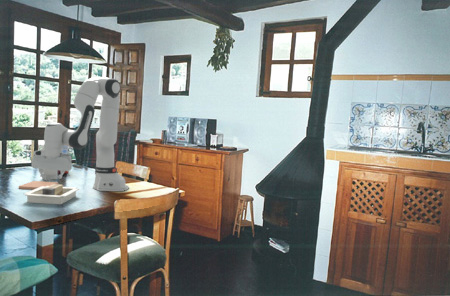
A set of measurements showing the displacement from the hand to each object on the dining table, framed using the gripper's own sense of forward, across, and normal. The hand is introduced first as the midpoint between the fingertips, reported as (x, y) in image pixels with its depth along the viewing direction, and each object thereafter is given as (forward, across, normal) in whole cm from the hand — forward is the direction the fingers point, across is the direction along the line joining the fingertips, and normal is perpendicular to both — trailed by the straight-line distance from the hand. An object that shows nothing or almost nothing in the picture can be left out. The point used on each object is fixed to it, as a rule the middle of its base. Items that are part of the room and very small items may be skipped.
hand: (51, 177), depth 174 cm
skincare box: (+13, +25, -49) cm, 56 cm away
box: (+12, -1, -2) cm, 13 cm away
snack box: (+12, +32, -80) cm, 87 cm away
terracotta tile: (+12, +20, -27) cm, 36 cm away
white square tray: (+12, -1, -2) cm, 12 cm away
